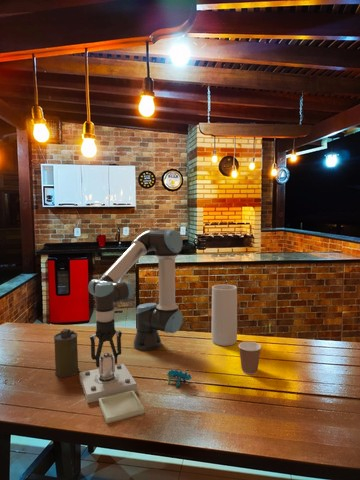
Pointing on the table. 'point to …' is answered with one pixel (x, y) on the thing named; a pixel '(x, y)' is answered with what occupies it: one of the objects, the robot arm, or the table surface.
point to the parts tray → (120, 406)
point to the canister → (66, 353)
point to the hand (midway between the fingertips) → (106, 372)
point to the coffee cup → (249, 356)
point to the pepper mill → (107, 367)
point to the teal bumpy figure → (177, 376)
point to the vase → (224, 314)
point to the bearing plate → (106, 383)
